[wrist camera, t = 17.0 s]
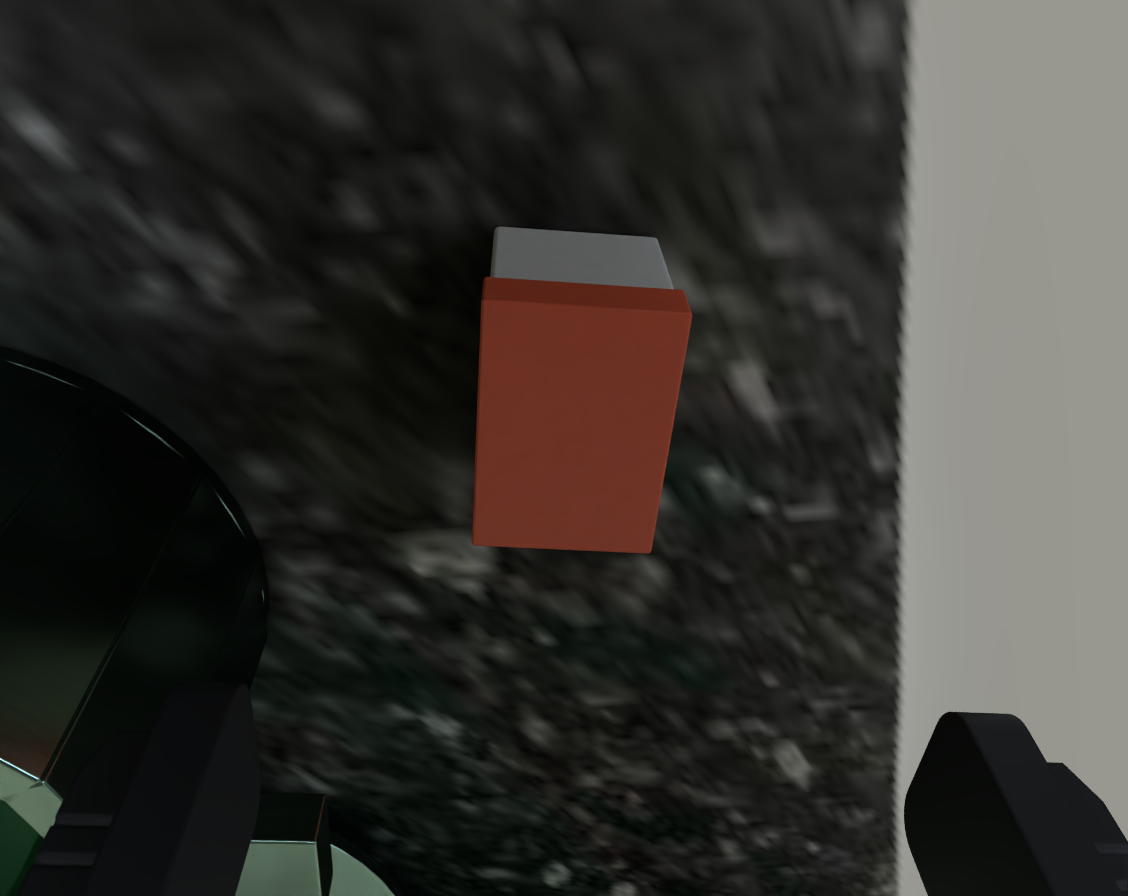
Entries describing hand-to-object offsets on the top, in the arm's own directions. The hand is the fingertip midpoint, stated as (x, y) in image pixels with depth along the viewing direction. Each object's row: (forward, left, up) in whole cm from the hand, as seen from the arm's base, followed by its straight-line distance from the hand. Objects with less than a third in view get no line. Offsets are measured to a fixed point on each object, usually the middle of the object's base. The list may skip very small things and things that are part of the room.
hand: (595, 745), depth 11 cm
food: (0, 0, -10) cm, 10 cm away
